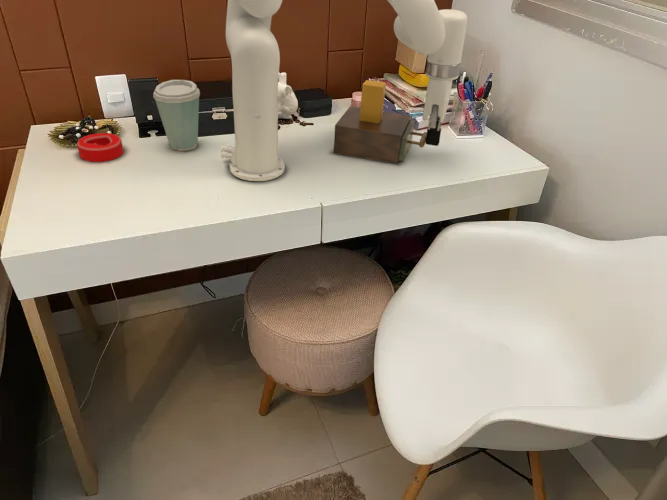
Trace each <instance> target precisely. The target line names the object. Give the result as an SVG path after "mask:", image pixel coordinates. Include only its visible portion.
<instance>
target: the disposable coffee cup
mask: <svg viewBox="0 0 667 500" xmlns="http://www.w3.org/2000/svg"><path fill="white" fill-rule="evenodd" d="M152 95H153V96H152V98H153V99H154V101H155V104H156V107H157V110H158V113H159V117H160V119H161V122H162V126H163V129H164V132H165V135H166V138H167V142H168V145H169V146H170V148H171V149H172V150H174V151H178V152H186V151H190V150H193V149H195V148H197V145H198V142H199V116H200V115H199V113H200V111H199V110H200V96H201V91H200V89H199V88H198V86H197V84H196V83H195V82H193V81H192V80H187V79H169V80H167V81H163V82H161V83H159V84H158V85H156V87H155V89H154V91H153V94H152Z"/></svg>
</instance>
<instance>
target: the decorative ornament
mask: <svg viewBox="0 0 667 500" xmlns="http://www.w3.org/2000/svg"><path fill="white" fill-rule="evenodd" d="M76 146H77V150H78V151H77V152H78V156H79V157H80V159H81V160H83V161H87V162H90V163H91V162H92V163H101V162H108V161H109V162H110V161H113V160H116V159H118V158H120V157H121V156H122V155H123V154H124V146H123V140H122V138H121V137H120V136H119V135H117V134H115V133H109V132H99V133H98V132H97V133H93V134H88V135H85V136H83V137H81V138H80V139H78V141H77V142H76Z"/></svg>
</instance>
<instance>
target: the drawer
mask: <svg viewBox="0 0 667 500" xmlns="http://www.w3.org/2000/svg"><path fill="white" fill-rule="evenodd" d="M415 121H416V120H414V119H411V120H410V122H409V124H408V126H407V128H406V130H405V132H404V134H403V136H402V139H401V146H400V153H399V161H402V162H403V161H404V160H405V158H406V155H407V153H408V151H409V149H410V146H411V145H414V146H415V145H416V146H419V148H424V147H425V145H426V136H427V131H424V132H419V131H418V132H417V131H414V129H415V123H416V122H415ZM413 136H417V137H418V136H419V137H420V140H419V141H416V140H413Z"/></svg>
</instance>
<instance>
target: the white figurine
mask: <svg viewBox="0 0 667 500" xmlns="http://www.w3.org/2000/svg"><path fill="white" fill-rule="evenodd" d="M298 101H299V100H298V99H297V96H296V94H295V92H294V91H293V88H292V87H291V86H290V85H288V84H287V73H286V72H281V73H280V72H279V75H278V119H284V120H285V119H286V120H290V119H292V118H293V116H292V115H293V114H294V113H296V112H297V110H298V108H299V102H298Z"/></svg>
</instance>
